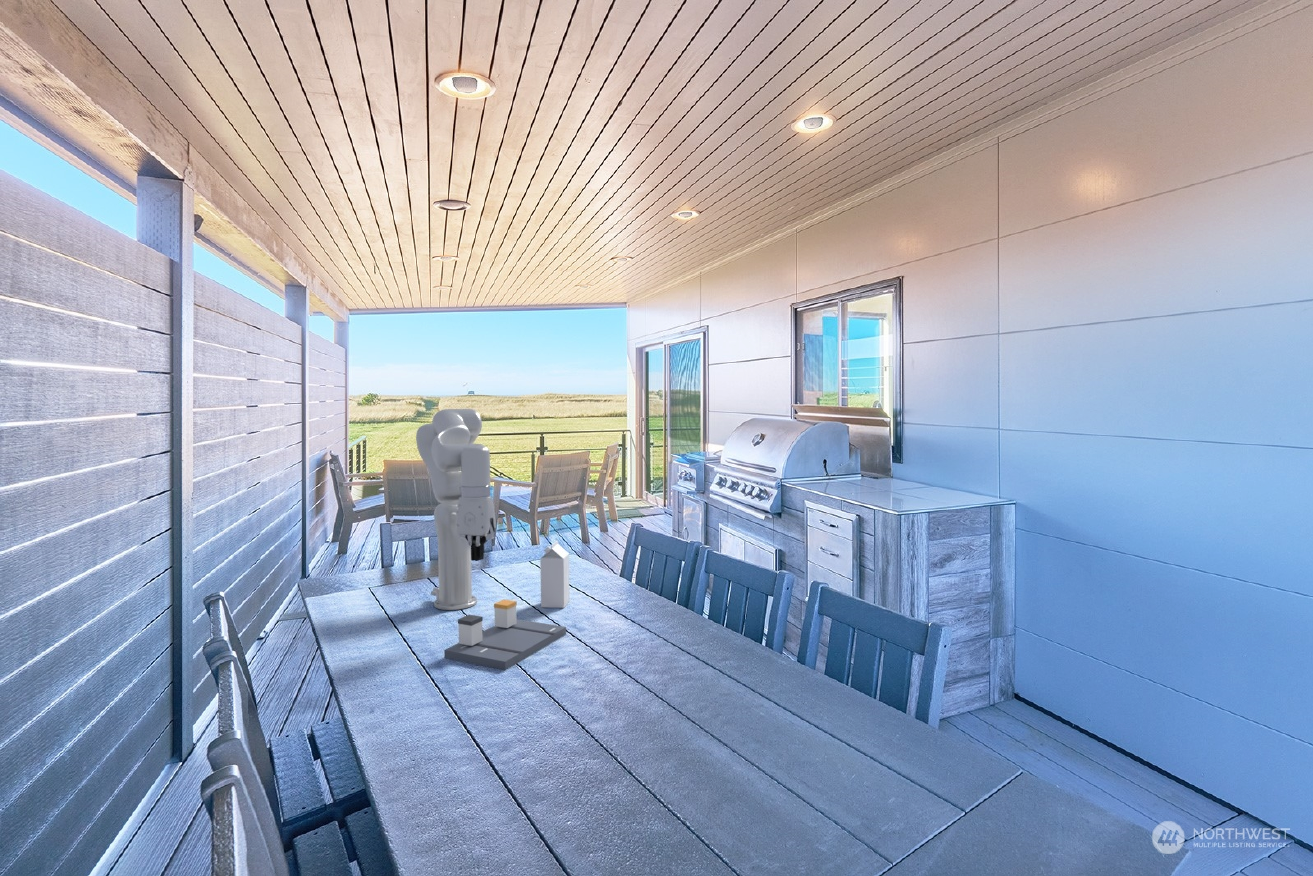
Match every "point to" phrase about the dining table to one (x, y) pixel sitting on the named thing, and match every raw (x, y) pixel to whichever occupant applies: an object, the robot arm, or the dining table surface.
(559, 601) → the milk carton
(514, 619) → the fader orange
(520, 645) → the console
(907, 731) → the dining table surface
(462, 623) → the block
